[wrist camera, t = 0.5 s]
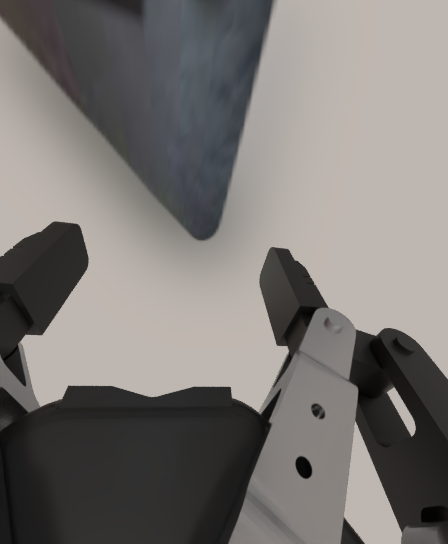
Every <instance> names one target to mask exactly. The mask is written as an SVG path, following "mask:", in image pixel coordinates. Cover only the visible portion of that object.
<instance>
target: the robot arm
mask: <svg viewBox="0 0 448 544" xmlns="http://www.w3.org/2000/svg"><path fill="white" fill-rule="evenodd" d="M87 267H88V254H87V250H86V246H85V242H84V239H83V235H82V231H81V228H80V226H79V225H78V224H73V223H65V222H53V223H51V224H50V225H49V226H47V227H46V228H45V229H44V230H43V231H41V232H38V233H36V234H34V235H31V236H29V237H26V238H24V239H22V241H20V242H19V243H17V244H16V245H15V246H14V247H13V249H10V250H9V251H7V252H6V253H5V254H4V256H1V257H0V544H365V543H364V542H363V541H362V540H361V538H360V537H359V536H358V534H357V533H356V532H355V531H354V529H353V528H352V527H351V526H350V524H349V523H348V522H347V520H346V519H345V518H344V510H345V501H346V493H347V484H348V476H349V468H350V459H351V451H352V442H353V433H354V424H355V421H356V423H357V425H358V428H359V430H360V433H361V435H362V437H363V440H364V442H365V445H366V447H367V450H368V452H369V454H370V457H371V459H372V462H373V464H374V466H375V469H376V471H377V474H378V476H379V478H380V481H381V483H382V486H383V488H384V491H385V493H386V495H387V498H388V500H389V502H390V505H391V507H392V510H393V512H394V515H395V517H396V519H397V522H398V524H399V527H400V529H401V531H402V538H401V544H448V379H447V378H446V377H445V376H444V374H443V373H442V372H441V371H440V370H439V368H438V367H437V366H436V364H435V363H434V362H433V361H432V359H431V358H430V357H429V356H428V355H427V353H426V352H425V351H424V349H423V348H422V347H421V346H420V345H419V344H418V343H417V342H416V341H415V340H414V339H412V338H411V337H410V336H408V335H406V334H405V333H403V332H401V331H399V330H396V329H391V328H385V329H383V330H382V331H381V332H380V333H379V334H378V335H377V336H374V335H371V334H368V333H365V332H362V331H358V330H356V329H355V327H354V325H353V324H352V323H351V321H350V320H349V319H348V318H347V317H345V316H344V315H343V314H341V313H340V312H338V311H336V310H333V309H330V308H328V306H327V304H326V303H325V301H324V299H323V297H322V296H321V294H320V292H319V290H318V289H317V287H316V285H314V282H313V280H312V278H310V275H309V273H308V272H307V270H306V268H305V267H303V265H301V264H300V263H299V262H298V261H295V260H294V258H293V257H292V255H291V253H290V251H289V250H288V249H283V248H275V247H272V248H270V250H269V252H268V254H267V257H266V260H265V263H264V265H263V268H262V271H261V274H260V288H261V291H262V295H263V298H264V302H265V305H266V309H267V312H268V316H269V319H270V323H271V326H272V330H273V333H274V336H275V340H276V344H277V346H288V349H289V352H288V354H287V355H286V358H285V360H284V362H283V364H282V366H281V368H280V370H279V373H278V375H277V377H276V379H275V381H274V383H273V385H272V388H271V390H270V392H269V394H268V396H267V397H266V399H265V401H264V403H263V405H262V406H261V408H260V411H259V412H257V411H256V410H254V409H253V408H252V407H250V406H248V405H247V404H245V403H243V402H241V401H238V400H236V399H233V398H232V396H231V387H192V388H188V389H184V390H180V391H176V392H173V393H169V394H165V395H162V396H158V397H147V396H144V395H140V394H137V393H134V392H130V391H127V390H123V389H120V388H117V387H113V386H68V388H67V390H66V392H65V394H64V396H63V399H61V400H58V401H55V402H52V403H49V404H46V405H44V406H42V407H40V405H39V403H38V401H37V400H36V397H35V395H34V392H33V389H32V384H31V380H30V375H29V371H28V367H27V362H26V358H25V353H24V349H23V346H22V344H21V343H20V341H21V340H22V338H23V337H24V336H25V335H43V333H44V332H45V330H46V329H47V327H48V326H49V324H50V323H51V321H52V320H53V318H54V317H55V316H56V314H57V313H58V311H59V310H60V308H61V307H62V305H63V304H64V302H65V301H66V299H67V298H68V296H69V295H70V293H71V292H72V291H73V289H74V288H75V286H76V285H77V283H78V282H79V280H80V279H81V277H82V276H83V274H84V273H85V271H86V270H87ZM393 387H395V389H396V390H397V392H398V394H399V395H400V397H401V399H402V400H403V402H404V403H405V405H406V407H407V409H408V410H409V412H410V414H411V415H412V417H413V419H414V421H415V426H416V431H415V434H414V435H413V436H412V437H411V435H410V433H409V431H408V430H407V428H406V426H405V424H404V422H403V421H402V419H401V417H400V415H399V413H398V412H397V410H396V408H395V406H394V405H393V403H392V401H391V400H390V397H389V396H388V394H387V392H388V391H389V390H391V389H392V388H393Z"/></svg>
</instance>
